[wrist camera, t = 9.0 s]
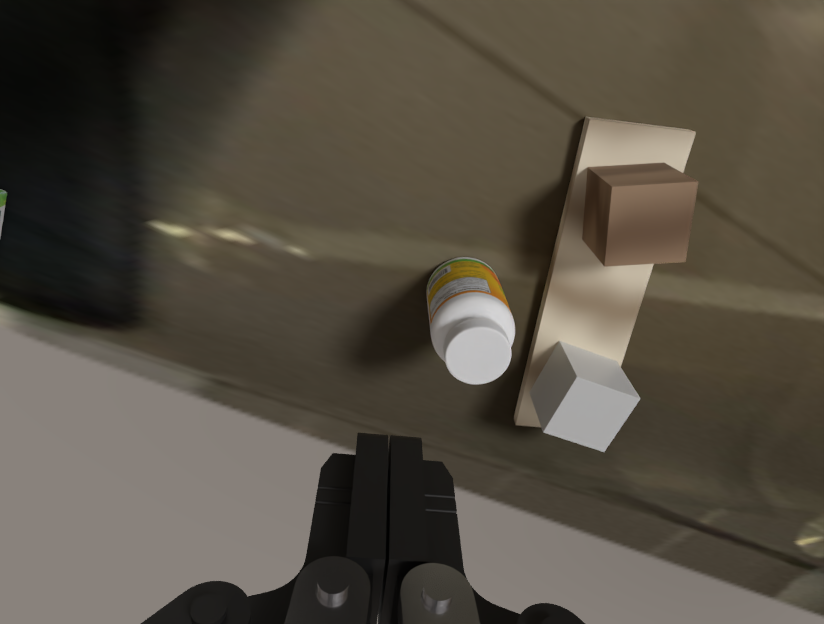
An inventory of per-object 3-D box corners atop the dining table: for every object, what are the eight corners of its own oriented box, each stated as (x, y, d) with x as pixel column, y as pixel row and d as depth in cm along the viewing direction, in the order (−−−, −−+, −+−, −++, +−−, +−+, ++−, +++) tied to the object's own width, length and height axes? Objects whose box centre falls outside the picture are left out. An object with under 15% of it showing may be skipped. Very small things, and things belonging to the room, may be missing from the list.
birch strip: (585, 116, 39) (589, 119, 38) (689, 129, 39) (696, 132, 38) (513, 417, 49) (515, 425, 48) (596, 424, 50) (599, 432, 49)
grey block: (559, 340, 45) (577, 376, 40) (616, 361, 46) (640, 398, 41) (529, 392, 47) (543, 432, 42) (584, 411, 48) (604, 451, 43)
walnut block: (587, 167, 39) (612, 186, 35) (663, 162, 39) (698, 181, 35) (581, 239, 41) (604, 266, 37) (654, 235, 41) (685, 261, 37)
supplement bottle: (498, 320, 45) (522, 393, 36) (426, 323, 45) (433, 396, 36) (500, 253, 43) (526, 314, 34) (425, 256, 43) (432, 318, 34)
